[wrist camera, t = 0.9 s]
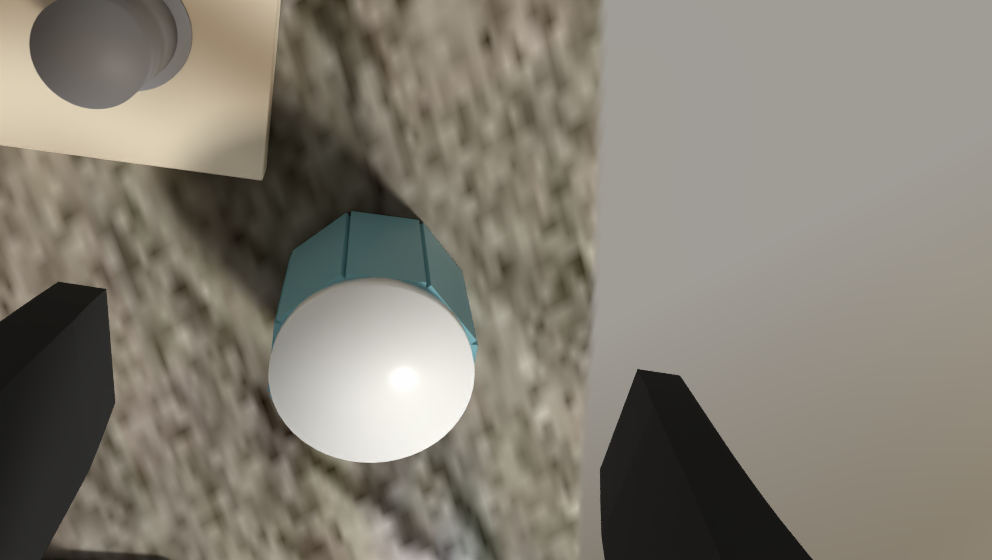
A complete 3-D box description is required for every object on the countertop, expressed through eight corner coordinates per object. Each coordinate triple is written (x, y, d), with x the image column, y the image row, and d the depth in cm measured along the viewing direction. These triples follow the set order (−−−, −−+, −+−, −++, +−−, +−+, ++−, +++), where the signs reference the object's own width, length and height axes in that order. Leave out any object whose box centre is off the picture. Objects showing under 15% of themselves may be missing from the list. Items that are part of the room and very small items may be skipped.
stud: (266, 169, 25) (244, 226, 21) (-1, 133, 24) (-78, 185, 20) (288, -95, 22) (269, -88, 18) (-11, -152, 21) (-103, -159, 17)
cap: (444, 376, 29) (456, 469, 24) (279, 359, 28) (260, 454, 23) (471, 226, 27) (491, 298, 22) (295, 203, 26) (277, 273, 21)
